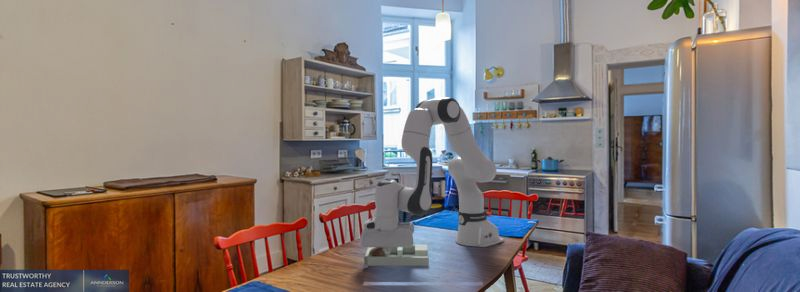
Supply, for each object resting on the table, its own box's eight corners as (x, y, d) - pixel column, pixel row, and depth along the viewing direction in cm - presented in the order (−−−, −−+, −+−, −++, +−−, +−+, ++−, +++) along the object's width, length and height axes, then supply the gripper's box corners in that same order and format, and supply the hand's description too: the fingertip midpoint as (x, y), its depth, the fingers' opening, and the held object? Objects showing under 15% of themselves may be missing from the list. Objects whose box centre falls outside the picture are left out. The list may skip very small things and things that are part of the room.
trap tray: (427, 254, 160) (426, 244, 160) (428, 268, 144) (428, 257, 144) (369, 253, 161) (369, 244, 161) (364, 268, 145) (364, 257, 144)
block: (385, 256, 151) (382, 245, 151) (385, 260, 146) (381, 248, 146) (374, 259, 151) (371, 248, 151) (374, 263, 146) (370, 252, 146)
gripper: (413, 220, 151) (414, 255, 152) (361, 220, 151) (362, 255, 152) (414, 224, 145) (414, 260, 145) (359, 224, 145) (360, 261, 145)
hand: (387, 258), depth 148 cm, fingers closed, pressing on block
